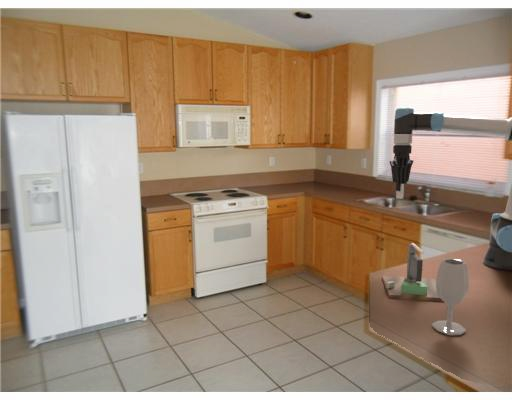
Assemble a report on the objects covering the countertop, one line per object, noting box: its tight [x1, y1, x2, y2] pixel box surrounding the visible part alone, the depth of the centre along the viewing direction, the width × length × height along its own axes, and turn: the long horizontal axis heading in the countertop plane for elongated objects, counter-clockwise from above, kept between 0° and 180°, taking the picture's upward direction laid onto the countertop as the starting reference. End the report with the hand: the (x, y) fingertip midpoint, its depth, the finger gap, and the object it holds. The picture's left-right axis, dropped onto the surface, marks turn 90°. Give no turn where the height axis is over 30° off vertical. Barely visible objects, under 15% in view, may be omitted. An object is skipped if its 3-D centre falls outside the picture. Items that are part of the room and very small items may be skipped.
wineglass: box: [431, 258, 470, 337], centre depth 120 cm, size 9×9×21 cm
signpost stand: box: [403, 242, 425, 283], centre depth 152 cm, size 14×4×15 cm, turn 175°
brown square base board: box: [382, 275, 443, 302], centre depth 153 cm, size 19×20×1 cm
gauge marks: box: [385, 281, 428, 295], centre depth 149 cm, size 14×5×3 cm, turn 61°
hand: (399, 198), depth 181 cm, fingers closed
